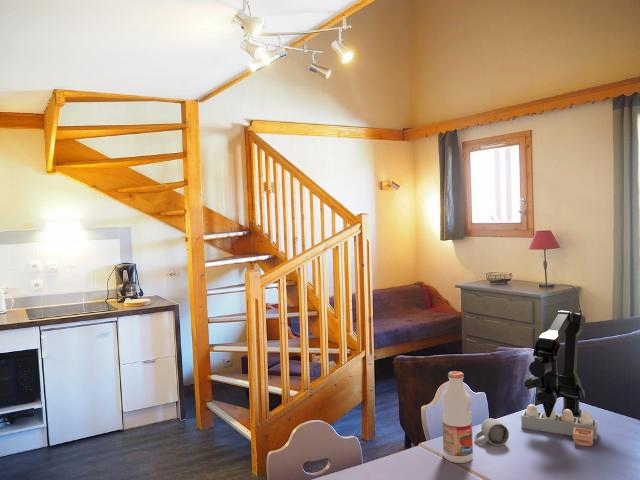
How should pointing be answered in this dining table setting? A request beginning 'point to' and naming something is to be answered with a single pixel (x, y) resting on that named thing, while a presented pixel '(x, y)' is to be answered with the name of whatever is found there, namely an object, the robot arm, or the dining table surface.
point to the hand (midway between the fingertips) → (549, 413)
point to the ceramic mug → (493, 433)
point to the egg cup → (583, 436)
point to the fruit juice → (457, 421)
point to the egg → (552, 416)
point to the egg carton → (557, 421)
